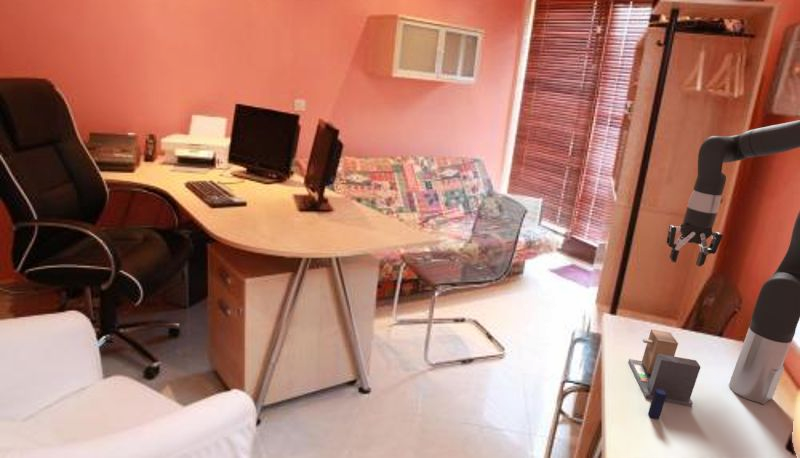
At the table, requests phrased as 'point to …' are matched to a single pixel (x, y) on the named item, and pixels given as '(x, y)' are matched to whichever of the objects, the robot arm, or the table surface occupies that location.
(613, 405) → the table surface
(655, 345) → the block
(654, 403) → the eraser
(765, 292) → the robot arm
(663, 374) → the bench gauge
